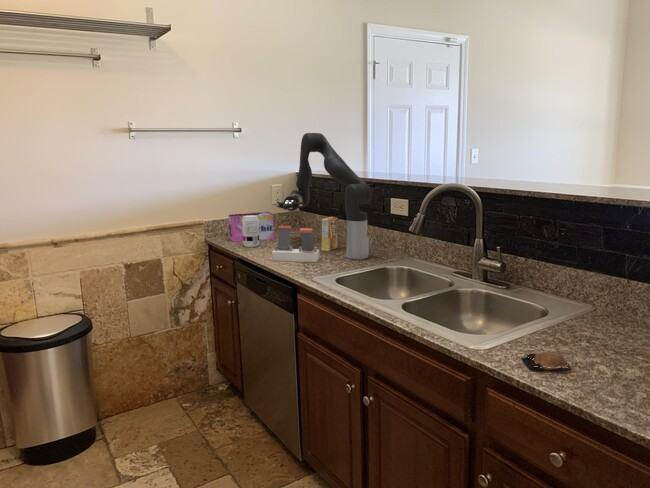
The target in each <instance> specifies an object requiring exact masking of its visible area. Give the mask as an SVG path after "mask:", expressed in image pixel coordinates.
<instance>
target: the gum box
mask: <svg viewBox="0 0 650 488" xmlns="http://www.w3.org/2000/svg"><path fill="white" fill-rule="evenodd" d="M246 215H256V216H257V217H258V219H259V241H261V240H272V239H275V230H274V229H275V228H274V227H275V226H274V224H275V223H274V222H275V221H274V217H275V216H274V213H272V212H270V211H262V212H261V211H260V212H250V213H249V212H248V213H233V214H228V220H227V221H228V229H229V231H228V232H229V241H232V242H233V243H238V242H243V232H242V218H243V216H246Z"/></svg>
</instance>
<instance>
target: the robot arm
mask: <svg viewBox="0 0 650 488" xmlns="http://www.w3.org/2000/svg"><path fill="white" fill-rule="evenodd" d="M310 153H319V154H321V155H322V157H323V167H324V169H325V171H326V172H327V173H328V175H329V176H330V177H331V178H332V179H333V180H335V181H337V182H339V183H341V184H342V185H345V186H346V187H345V190H344V207H345V209H344V211H345V215H346V237H345V238H346V243H345V244H346V247H345V248H346V249H345V250H346V251H345V252H346V253H345V254H346V256H345V257H346V258H347V259H348V260H360V261H361V260H364V259H365V260H366V259H367V258H369V257H370V256H369V252H370V250H369V248H370V246H369V245H370V243H369V242H370V237H369V236H368V214H367V213H366V212H364V211H362V210H360V205H365V204H369V203H370V202H371V201H372V199H373V191H372V190H371V187H370V185H369V184H367V182H366V181H364V179H362V178H361V177H360V176H358V175H357V174H356V173H355V172H354V170H352V168H351V167H350V166H349V165H348V164H347V162H345V160H344V159H343V158H342V157H341V156H340V155H339V154H338V153H337V152H336V150H335V149H334V148H333V146H332V145H331V144H330V142H329V141H328V139H327V138H326V136H325V135H324V134H322V133H320V132H306V133H304V134H303V136H302V138H301V143H300V153H299V154H300V155H299V169H298V173H297V177H296V179H297V180H296V181H295V186H296V188H297V189H293V190H292V191H291V192H290V195H288V196H286V197H285V198H284V200H283V201H276V207H277V208H279V209H283V210H287V211H289V212H295V211H297V209H300V208H301V209H302V208H303V207H306V206H308V205H309V203H310V199H311V198H310V197H311V195H310V186H311V181H312V177H313V172H312V167H311V164H310V161H309V157H310Z"/></svg>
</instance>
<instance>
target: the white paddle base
mask: <svg viewBox="0 0 650 488" xmlns="http://www.w3.org/2000/svg"><path fill="white" fill-rule="evenodd" d="M319 260H320V249H318V247H317V246H314V251H302V246H298V248H293V246H292V245H290V246H289V250H278V245H275V246H274V249H273V250H272V251H271V261H273V262H300V263H301V262H302V263H318V261H319Z"/></svg>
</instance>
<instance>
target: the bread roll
mask: <svg viewBox="0 0 650 488" xmlns="http://www.w3.org/2000/svg"><path fill="white" fill-rule="evenodd" d="M528 357H529V358H528ZM530 358H531V359H530ZM533 358H534V360H535V361H534V360H532V359H533ZM564 359H565V358H564V357H563V356H562V355H561V354H558V353H556V352H546V351H545V352H539V353H533V352H531V353H529V354H527V356H525V357H521V359H520V360H521V361H522V363H523V364H524V366H525V368H527V370H529V371H530V372H532V373H543V374H544V373H545V374H548V373H549V374H550V373H551V374H552V373H553V374H555V373H557V374H560V373H562V374H564V373H565V374H566V373H575V372H576V369H575V368H573V367H572V366H571V365H570V364H569V363H568V362H567V361H566V359H565V360H564ZM535 362H536V363H537V364H536V363H535ZM567 363H568V366H567V367H568V368H562V367H561V368H547V367H558V366H565V365H567ZM534 366H538V367H534ZM542 366H546V367H542ZM540 367H542V368H540Z"/></svg>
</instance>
